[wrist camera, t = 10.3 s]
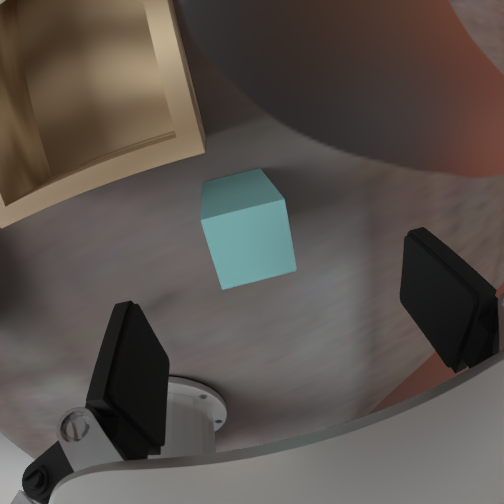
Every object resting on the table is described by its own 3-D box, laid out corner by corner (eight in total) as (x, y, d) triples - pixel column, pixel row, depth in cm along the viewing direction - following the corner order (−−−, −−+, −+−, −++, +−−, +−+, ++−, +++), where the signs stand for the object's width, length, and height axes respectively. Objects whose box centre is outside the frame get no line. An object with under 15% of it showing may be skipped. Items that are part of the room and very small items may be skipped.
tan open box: (205, 136, 19) (204, 152, 13) (51, 190, 18) (1, 229, 12) (155, -76, 10) (141, -126, 4) (11, -9, 10) (-39, -27, 4)
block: (271, 221, 22) (296, 270, 16) (217, 234, 22) (222, 289, 16) (260, 168, 20) (284, 199, 14) (202, 182, 20) (200, 220, 14)
